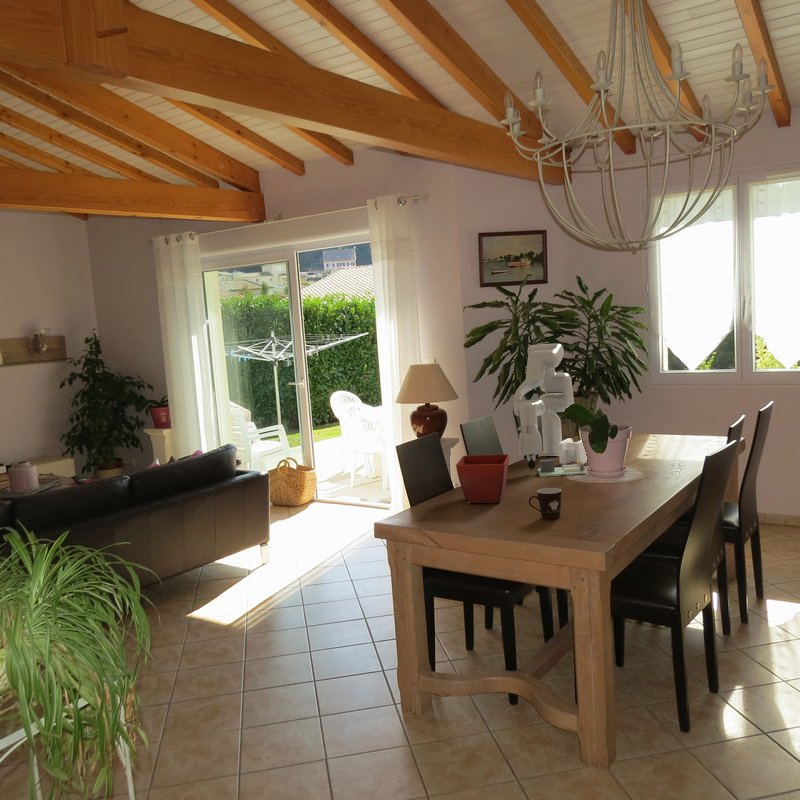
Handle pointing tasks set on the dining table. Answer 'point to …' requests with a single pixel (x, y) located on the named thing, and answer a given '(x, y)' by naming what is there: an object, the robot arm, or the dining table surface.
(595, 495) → the dining table surface
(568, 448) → the cable organizer
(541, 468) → the plug
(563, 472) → the board
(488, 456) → the plant pot
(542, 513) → the coffee mug
